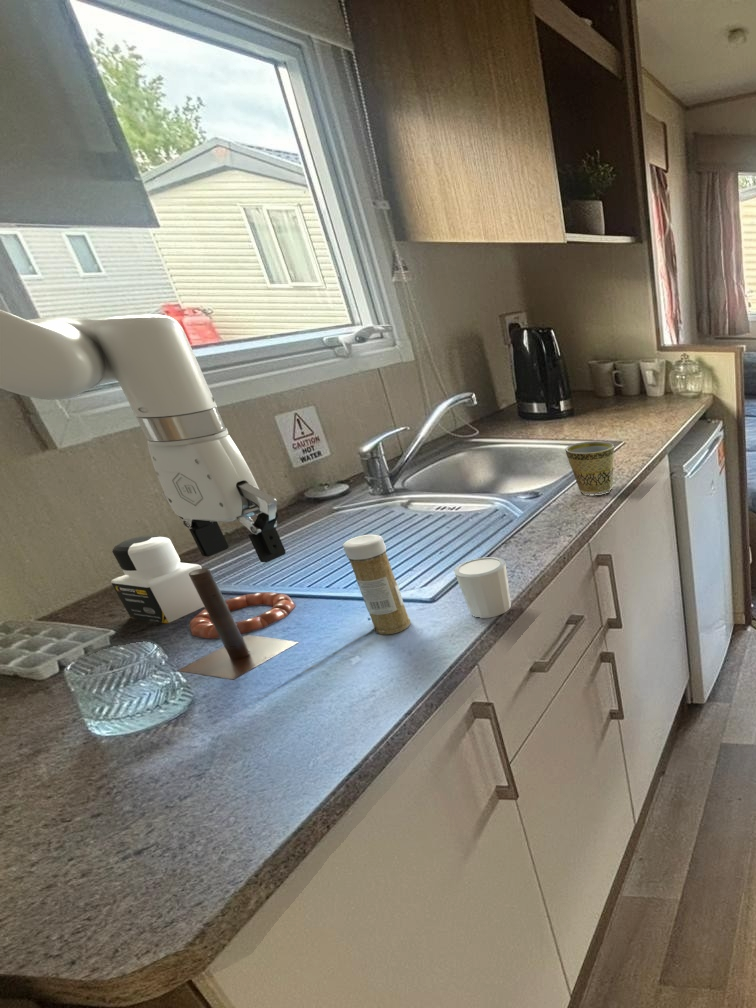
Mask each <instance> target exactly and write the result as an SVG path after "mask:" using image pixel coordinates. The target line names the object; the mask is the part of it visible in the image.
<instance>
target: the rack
mask: <svg viewBox="0 0 756 1008" xmlns="http://www.w3.org/2000/svg"><path fill="white" fill-rule="evenodd" d="M201 568H202V569H197V570H194V571H192V572H190V573H189V576H190V578H191V580H192V582H193V584H194V586H195V588H196V590H197V592H198V594H199V596H200V598H201V600H202V602H203V604H204V606H205V607H204V609H206V610H207V612H208V614H209V616H210V618H211V620H212V622H213V624H214V626H215V628H216V630H217V632H218V635H219V637H220V638H219V639H220V641H221V643H222V645H223V646H221V647H219V648H218V649H216V650H214V651H211V652H210V653H208V654H206V655H204V656H202V657H200V658H198V659H197V660H195V661H193V662H191V663H189V664H187V665H185V666H183V667H180V668H178V669H177V670H176V671H177V672H181V673H188V674H192V675H193V674H194V675H200V676H205V677H206V676H207V677H212V678H219V679H224V680H230V681H231V680H232V681H235V680H237V679H238V678H240V677H242V676H243V675H245V674H247V673H249V672H250V671H252V670H254V669H256V668H258V667H260V666H261V665H263V664H264V663H266V662H268V661H269V660H272V659H274V658H275V657H277V656H278V655H280V654H282V653H283V652H285V651H287V650H290V648H293V647H294V646H296V645H297V644H299V643H300V641H294V640H288V639H282V638H274V637H267V636H260V635H252V634H241V633H240V631H239V629H238V627H237V625H236V621H235V619H234V617H233V614H232V611H230V610H229V608H228V606H227V604H226V602H225V600H226V599H225V598H224V596H223V594H222V591H221V589H220V587H219V585H218V582H217V581H216V579H215V576H214V574H213V573H212V571H211V569H210V568H208V567H201Z"/></svg>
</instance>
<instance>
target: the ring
mask: <svg viewBox="0 0 756 1008" xmlns="http://www.w3.org/2000/svg"><path fill="white" fill-rule="evenodd" d="M224 600H225V602H226V604H227V606H228V608H229V610H230V612H232V611H236V610H239V609H242V608H247V607H253V606H261V605H265V606H271V607H272V608H271V609H269V610H266V611H265V612H262V613H260V614H259V615H257V616H254V617H250V618H247V619H243V620H240V621H235V623H236V625H237V627H238V629H239V631H240V633H241V635H245V634H247V633H250V632H253V631H257V630H260V629H264V628H266V627H269V626H270V625H273V624H274V623H277V622H279V621H280V620H282V619H284V618H286V617H288V616H289V615H290V614H291V612H292V611H293V610H294V608H295V607H296V603H295V602H294V600H293V599H292V598H291V597H290V596H289V595H287V594H285V593H278V592H272V591H271V592H270V591H266V592H265V591H264V592H256V593H247V594H243V595H239V596H235V597H232V598H228V599H224ZM188 627H189V630H190V632H191V635H192V636H194V637H198V638H204V639H220V637H219V635H218V632H217V630H216V628H215V626H214V624H213V622H212V620H211V618H210V616H209V614H208V612H207V610H206V608H204V609H202V610H201V611H200V612H199V613H198V614H197V615H195V616H194V618H192V619H191V620H190V622H189V625H188Z"/></svg>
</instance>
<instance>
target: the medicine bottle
mask: <svg viewBox="0 0 756 1008" xmlns="http://www.w3.org/2000/svg"><path fill="white" fill-rule="evenodd" d="M111 552H112V554H113V557H114V558H115V559H116V561H117V563H118V565H119V567H120V569H121V571H122V572H123V574H124V575H121V576H118V577H115V578H112V579H111V581H110V584H111V586H112V587H113V589H114V591H115V593H116V595H117V597H119V600H120V601H121V603H122V605H123V607H124V608H125V610H126V612H127V614H128V616H129V618H130V619H133V620H141V621H146V622H147V621H148V622H154V623H160V624H161V623H162V624H170V623H172V622H174V621H177V620H179V619H181V618H183V617H186V616H187V615H189V614H191V613H194V612H196V611H198V610H201V609H203V608H205V606H204V604H203V602H202V600H201V598H200V596H199V594H198V592H197V590H196V588H195V586H194V584H193V582H192V580H191V578H190V576H189V573H190V572H192V571H194V570H197V569H202V568H203V567H202V566H201V565H200V564H197V563H190V562H189V563H188V562H181V559H180V556H179V554H178V552H177V550H176V549H175V547H174V544H173V542H172V540H171V539H170V538H169V537H167V536H165V535H159V534H148V535H141V536H136V537H132V538H128V539H126V540H123V541H121V542H119V543H118V544H116V545H115V546H114V547H113V548H112V551H111Z"/></svg>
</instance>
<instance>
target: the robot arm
mask: <svg viewBox="0 0 756 1008" xmlns="http://www.w3.org/2000/svg"><path fill="white" fill-rule="evenodd" d="M115 382H118V384H119V386H120V388H121V389H122V392H123V394H124V397H125V398H126V400H127V402H128V404H129V406H130V408H131V410H132V413H134V416H135V418H136V420H137V422H138V424H139V426H140V428H141V430H142V432H143V435H144V436H145V438H146V440H147V441H146V445H147V448H148V449H147V450H148V452H149V456H150V460H151V463H152V466H153V468H154V471H155V474H156V476H157V480H158V481H159V484H160V486H161V489H162V492H161V497H162V498H163V500H165V502H166V503H167V504H168V505H169V506H170V508H171V510H172V512H173V513H174V514H175V515H176V516H178V517H179V518H180V519H181V521H182V524H183V526H184V527H185V528H186V529H188V531H189V533H190V535H191V536H192V538H193V540H194V542H195V544H196V546H197V548H198V550H199V552H200V554H201V556H202V557H206V558H207V557H208V558H210V557H211V556H213V555H216V554H218V553H220V552H223V551H226V550H228V549H229V544H228V542H227V540H226V538H225V535H224V533H223V531H222V529H221V527H220V525H219V523H230V522H231V523H232V522H234V521H235V520H237V521H238V522H240V523H241V524H242V525H243V526H244V527H245V528H246V529H247V530H248V531H250V532H251V533H249V534H248V538H249V540H250V543H251V544H252V547H253V549H254V552H255V553H256V555H257V557H258V559H259V562H261V563H265V564H266V563H269V562H272V561H273V560H275V559H277V558H281V557H282V556H284V555H286V554H287V553H286V552H287V551H286V549H285V546H284V544H283V542H282V540H281V537H280V534H279V532H278V531H277V526H278V522H277V521H278V518H279V514H278V512H277V510H278V508H277V507H278V502H277V499H276V498H275V497H274V496H272V495H271V494H269V493H267V492H265V491H263V490H261V489H260V488H259V486H258V483H257V482H256V479H255V477H254V475H253V473H252V470H251V469H250V467H249V465H248V464H247V462H246V459H245V458H244V456H243V455H242V453H241V451H240V449H239V447H238V446H237V445H236V443H235V442H234V440H233V438H232V436H230V434H229V431H228V428H227V426H226V423H225V421H224V419H223V416H222V414H221V412H220V410H219V408H218V406H217V403H216V400H215V398H214V396H213V394H212V391H211V389H210V387H209V385H208V382H207V380H206V379H205V376H204V373H203V371H202V368H201V366H200V364H199V362H198V359H197V358H196V355H195V353H194V350H193V349H192V346H191V343H190V342H189V339H188V336H187V334H186V332H185V330H184V328H183V326H182V325H181V324H180V323H179V322H178V321H177V320H176V319H174V317H171V316H169V315H164V314H136V315H134V314H133V315H120V316H112V317H111V316H110V317H105V318H102V319H101V318H100V319H98V318H97V319H96V318H93V319H91V318H89V319H88V318H76V317H75V318H74V317H73V318H71V317H39V318H30V319H25V318H22V317H20V316H17V315H15V314H12V313H10V312H8V311H5V310H3V309H1V308H0V389H1V390H4V391H7V392H11V393H13V394H17V395H21V396H24V397H28V398H34V399H39V400H46V401H47V400H48V401H49V400H51V401H55V400H56V401H57V400H59V401H61V400H66V399H70V398H73V397H75V396H78V395H81V394H83V393H84V392H86V391H87V390H90V389H93V388H95V387H98V386H100V385H104V384H108V383H115ZM252 516H256V519H255V521H254V520H253V519H252V518H251V517H252ZM218 522H219V523H218Z"/></svg>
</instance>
